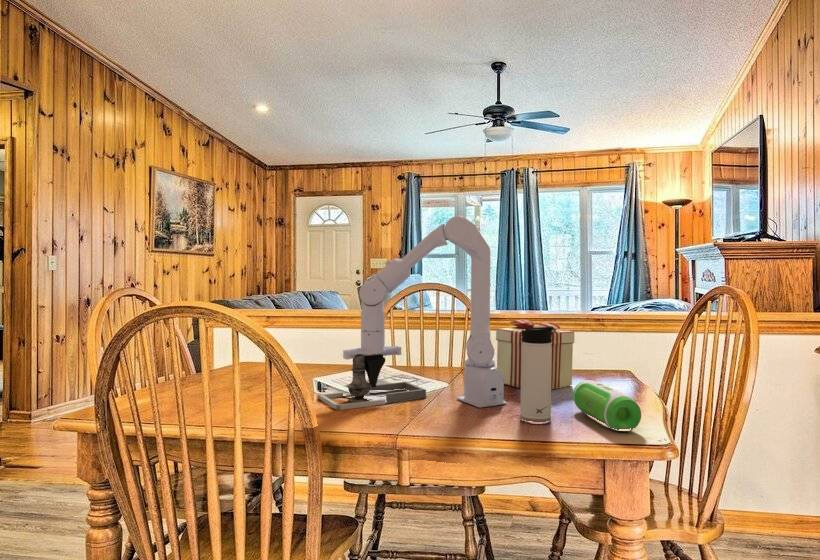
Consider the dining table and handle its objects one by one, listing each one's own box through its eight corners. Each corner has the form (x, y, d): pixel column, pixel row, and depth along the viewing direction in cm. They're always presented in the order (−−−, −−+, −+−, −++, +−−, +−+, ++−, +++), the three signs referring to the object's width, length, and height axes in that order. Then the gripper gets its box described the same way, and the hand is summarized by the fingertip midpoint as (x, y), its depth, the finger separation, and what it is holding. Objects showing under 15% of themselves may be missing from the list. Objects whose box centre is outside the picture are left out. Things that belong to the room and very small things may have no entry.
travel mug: (546, 426, 116) (548, 328, 116) (515, 421, 120) (517, 326, 119) (556, 419, 122) (557, 325, 121) (526, 415, 125) (527, 323, 124)
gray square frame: (385, 403, 134) (385, 399, 134) (337, 410, 128) (337, 405, 128) (364, 393, 144) (364, 389, 144) (318, 398, 139) (318, 394, 139)
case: (426, 397, 140) (426, 389, 140) (387, 402, 135) (387, 394, 135) (405, 389, 149) (405, 381, 149) (369, 393, 144) (369, 385, 144)
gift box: (581, 384, 156) (582, 321, 156) (539, 394, 144) (540, 326, 144) (531, 374, 169) (532, 316, 169) (489, 383, 157) (489, 320, 157)
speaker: (570, 411, 128) (570, 378, 128) (600, 410, 130) (601, 377, 129) (608, 435, 111) (609, 397, 111) (643, 434, 112) (644, 396, 112)
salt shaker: (370, 403, 134) (369, 352, 134) (345, 403, 135) (344, 352, 134) (373, 396, 140) (372, 347, 140) (349, 396, 140) (347, 348, 140)
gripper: (392, 327, 145) (392, 380, 146) (338, 330, 138) (338, 386, 139) (405, 330, 139) (405, 385, 140) (349, 333, 132) (349, 392, 133)
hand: (372, 386), depth 139 cm, fingers closed
